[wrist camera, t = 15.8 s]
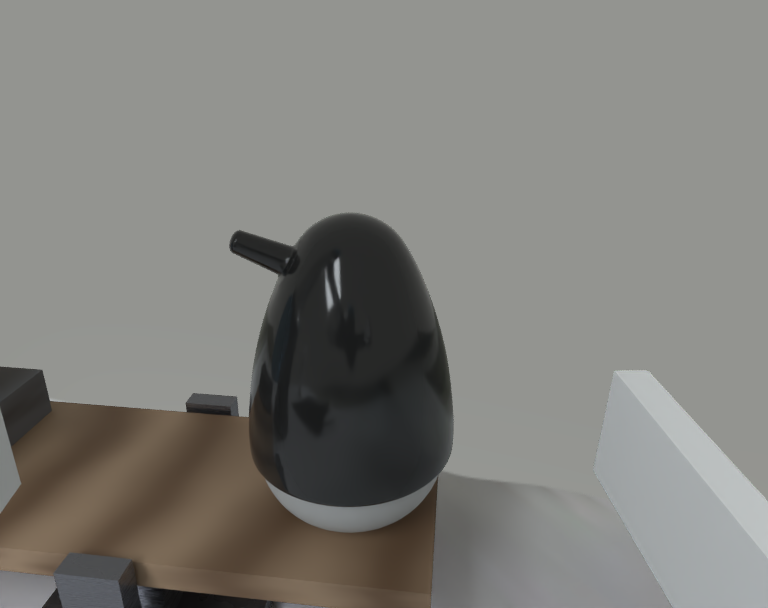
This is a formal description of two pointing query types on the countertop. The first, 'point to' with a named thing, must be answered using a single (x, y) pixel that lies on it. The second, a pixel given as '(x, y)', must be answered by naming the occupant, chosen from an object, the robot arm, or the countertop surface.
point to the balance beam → (187, 508)
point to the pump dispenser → (348, 376)
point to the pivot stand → (116, 575)
